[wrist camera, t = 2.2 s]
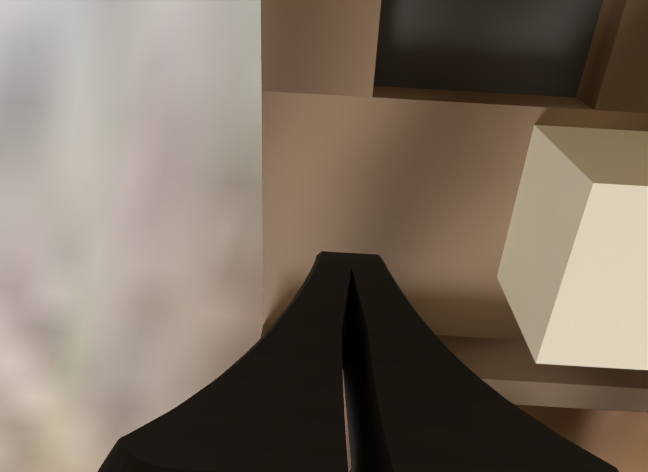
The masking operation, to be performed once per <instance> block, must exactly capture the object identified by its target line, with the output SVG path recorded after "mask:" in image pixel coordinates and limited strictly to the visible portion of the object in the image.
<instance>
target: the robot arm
mask: <svg viewBox="0 0 648 472" xmlns="http://www.w3.org/2000/svg"><path fill="white" fill-rule="evenodd" d="M343 376H344V387H345V399H346V409H347V420H348V431H349V441H350V452H351V465H352V472H619V471H618V470H617V468H616V467H614V466H612V465H610V464H609V463H607V462H605V461H603V460H602V459H600V458H598V457H596V456H595V455H593V454H591V453H589V452H588V451H586V450H584V449H582V448H581V447H579V446H577V445H575V444H574V443H572V442H570V441H569V440H567V439H565V438H563V437H562V436H560V435H558V434H557V433H555V432H553V431H552V430H550V429H549V428H547V427H546V426H544V425H543V424H541V423H540V422H538V421H537V420H535V419H534V418H532V417H531V416H529V415H528V414H526V413H525V412H523V411H522V410H521V409H519V408H518V407H517V406H515V405H514V404H512V403H511V402H510V401H508V400H507V399H506V398H504V397H503V396H502V395H500V394H499V393H498V392H497V391H495V390H494V389H493V388H492V387H490V386H489V385H488V384H487V383H485V382H484V381H483V380H482V379H480V378H479V377H478V376H477V375H476V374H475V373H474V372H472V371H471V370H470V369H469V368H468V367H467V366H466V365H465V364H464V363H463V362H462V361H460V360H459V359H458V358H457V357H456V356H455V355H454V354H453V353H452V352H451V351H450V350H449V349H448V348H447V347H446V346H445V345H444V344H443V342H442V341H441V340H440V339H439V338H438V337H437V336H436V335H435V333H434V332H433V331H432V330H431V329H430V328H429V326H428V325H427V324H426V323H425V322H424V320H423V319H422V318H421V316H420V315H419V314H418V313H417V311H416V310H415V308H414V307H413V306H412V304H411V303H410V302H409V300H408V299H407V298H406V296H405V295H404V293H403V292H402V290H401V289H400V287H399V286H398V284H397V283H396V281H395V280H394V278H393V276H392V275H391V273H390V271H389V270H388V268H387V266H386V264H385V263H384V261H383V259H382V258H381V257H380V256H379V255H377V254H360V253H344V252H327V251H322V252H320V253H319V254H318V255H316V259H315V262H314V264H313V266H312V268H311V270H310V272H309V274H308V276H307V278H306V279H305V281H304V283H303V284H302V286H301V287H300V289H299V290H298V292H297V293H296V295H295V297H294V298H293V300H292V301H291V302H290V304H289V305H288V306H287V308H286V309H285V310H284V311H283V313H282V314H281V315H280V316H279V318H278V319H277V320H276V322H275V323H274V324H273V325H272V326H271V328H270V329H269V330H268V331H267V332H266V333H265V334H264V335H263V336H262V338H261V339H260V340H259V341H258V342H257V343H256V344H255V345H254V346H253V347H252V348H251V349H250V350H249V351H248V352H247V353H246V354H245V355H243V356H242V357H241V358H240V359H239V360H238V361H237V362H235V363H234V364H233V365H232V366H231V367H230V368H229V369H228V370H226V371H225V372H224V373H223V374H222V375H220V376H219V377H218V378H217V379H215V380H214V381H213V382H212V383H210V384H209V385H207V386H206V387H204V388H203V389H202V390H200V391H199V392H197V393H196V394H195V395H193V396H192V397H190V398H189V399H187V400H186V401H185V402H183V403H182V404H180V405H179V406H177V407H176V408H174V409H172V410H171V411H169V412H167V413H166V414H164V415H162V416H160V417H158V418H157V419H155V420H153V421H151V422H149V423H148V424H146V425H144V426H142V427H140V428H139V429H137V430H135V431H133V432H131V433H129V434H127V435H125V436H123V437H121V438H120V439H119V440H118V441H117V442H116V444H115V445H114V447H113V448H112V450H111V451H110V453H109V455H108V456H107V458H106V459H105V461H104V462H103V464H102V465H101V467H100V469H99V471H98V472H348V464H347V450H346V436H345V420H344V398H343Z"/></svg>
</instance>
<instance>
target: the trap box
mask: <svg viewBox="0 0 648 472" xmlns="http://www.w3.org/2000/svg"><path fill="white" fill-rule="evenodd" d="M261 60H262V187H263V313H264V325H263V330H262V335H261V338H262V336H263V335H264V334H265V333H266V332H267V331H268V330H269V329H270V328H271V326H272V325H273V324H274V323H275V322H276V320H277V319H278V318H279V316H280V315H281V314H282V313H283V311H284V310H285V309H286V308H287V306H288V305H289V304H290V302H291V301H292V300H293V298H294V297H295V295H296V293H297V292H298V290H299V289H300V287H301V286H302V284H303V283H304V281H305V279H306V278H307V276H308V274H309V272H310V270H311V268H312V266H313V264H314V262H315V259H316V255H318V254H319V253H320V252H322V251H327V252H344V253H360V254H377V255H379V256H380V257H381V258H382V259H383V261H384V263H385V264H386V266H387V268H388V270H389V271H390V273H391V275H392V276H393V278H394V280H395V281H396V283H397V284H398V286H399V287H400V289H401V290H402V292H403V293H404V295H405V296H406V298H407V299H408V300H409V302H410V303H411V304H412V306H413V307H414V308H415V310H416V311H417V313H418V314H419V315H420V316H421V318H422V319H423V320H424V322H425V323H426V324H427V325H428V326H429V328H430V329H431V330H432V331H433V332H434V333H435V335H436V336H437V337H438V338H439V339H440V340H441V341H442V342H443V344H444V345H445V346H446V347H447V348H448V349H449V350H450V351H451V352H452V353H453V354H454V355H455V356H456V357H457V358H458V359H459V360H460V361H462V362H463V363H464V364H465V365H466V366H467V367H468V368H469V369H470V370H471V371H472V372H474V373H475V374H476V375H477V376H478V377H479V378H480V379H482V380H483V381H484V382H485V383H487V384H488V385H489V386H490V387H492V388H493V389H494V390H495V391H497V392H498V393H499V394H500V395H502V396H503V397H504V398H506V399H507V400H508V401H510V402H511V403H512V404H515V405H532V406H548V407H565V408H581V409H598V410H614V411H631V412H647V413H648V370H635V369H619V368H602V367H585V366H569V365H552V364H536V363H535V361H534V359H533V356H532V354H531V352H530V350H529V347H528V345H527V343H526V341H525V339H524V336H523V334H522V332H521V330H520V327H519V325H518V323H517V321H516V318H515V316H514V314H513V312H512V310H511V307H510V305H509V303H508V301H507V298H506V296H505V294H504V292H503V290H502V287H501V285H500V283H499V281H498V278H497V274H498V270H499V266H500V262H501V258H502V254H503V250H504V246H505V242H506V238H507V233H508V229H509V225H510V221H511V217H512V213H513V209H514V205H515V201H516V197H517V193H518V189H519V185H520V181H521V177H522V173H523V169H524V164H525V160H526V156H527V152H528V148H529V144H530V140H531V136H532V132H533V128H534V125H545V126H562V127H580V128H597V129H614V130H632V131H648V0H261ZM343 394H345V387H344V376H343Z"/></svg>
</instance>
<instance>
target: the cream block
mask: <svg viewBox="0 0 648 472" xmlns="http://www.w3.org/2000/svg"><path fill="white" fill-rule="evenodd" d="M497 278H498V281H499V283H500V285H501V287H502V290H503V292H504V294H505V296H506V298H507V301H508V303H509V305H510V307H511V310H512V312H513V314H514V316H515V318H516V321H517V323H518V325H519V327H520V330H521V332H522V334H523V336H524V339H525V341H526V343H527V345H528V347H529V350H530V352H531V354H532V356H533V359H534V361H535V363H536V364H552V365H569V366H585V367H602V368H619V369H635V370H648V131H632V130H614V129H597V128H580V127H562V126H545V125H534V128H533V132H532V136H531V140H530V144H529V148H528V152H527V156H526V160H525V164H524V169H523V173H522V177H521V181H520V185H519V189H518V193H517V197H516V201H515V205H514V209H513V213H512V217H511V221H510V225H509V229H508V233H507V238H506V242H505V246H504V250H503V254H502V258H501V262H500V266H499V270H498V274H497Z"/></svg>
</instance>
